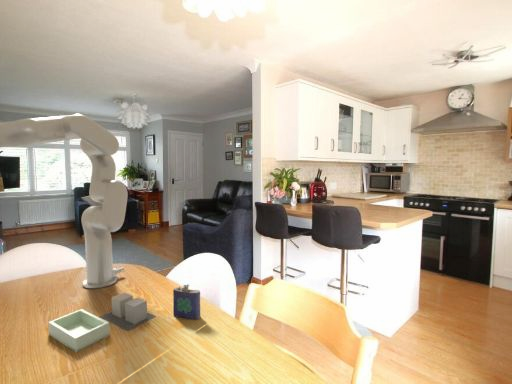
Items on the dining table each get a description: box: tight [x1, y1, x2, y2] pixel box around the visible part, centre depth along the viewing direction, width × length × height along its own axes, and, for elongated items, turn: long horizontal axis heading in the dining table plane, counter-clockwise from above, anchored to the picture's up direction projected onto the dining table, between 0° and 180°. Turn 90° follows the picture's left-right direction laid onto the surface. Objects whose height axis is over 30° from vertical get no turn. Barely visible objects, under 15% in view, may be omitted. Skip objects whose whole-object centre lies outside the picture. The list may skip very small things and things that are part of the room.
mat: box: [99, 310, 158, 332], centre depth 92 cm, size 10×15×1 cm, turn 58°
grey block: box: [125, 297, 148, 324], centre depth 90 cm, size 4×4×6 cm
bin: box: [47, 308, 111, 353], centre depth 82 cm, size 9×15×4 cm, turn 58°
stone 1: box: [111, 292, 134, 318], centre depth 94 cm, size 4×4×6 cm
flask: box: [172, 283, 202, 321], centre depth 92 cm, size 9×3×11 cm, turn 74°
